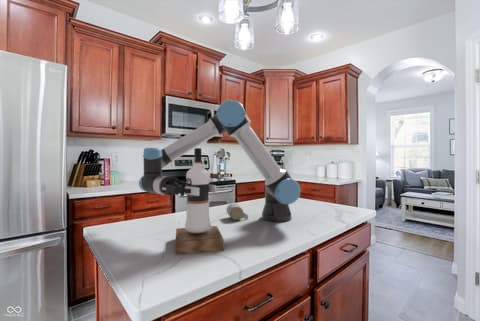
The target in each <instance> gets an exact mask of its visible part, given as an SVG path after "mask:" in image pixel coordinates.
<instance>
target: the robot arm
mask: <svg viewBox="0 0 480 321" xmlns="http://www.w3.org/2000/svg"><path fill="white" fill-rule="evenodd" d="M245 110H246V109H245V108H244V106H243V104H242V103H241V102H240V101H238V100H236V99H227V100H225V101H223V102H222V103H221V104H220V105H218V108H217V109H216V113H215V114H214V115H213V116H211V117H210V118H208V121H207V122H206V123H205V122H204V123H203V125H201V126H199V127H197V128H195V129H194V130H192V131H191V132H188V133H187V134H185V135H184V136H182V137H181V138H178V139H177V140H175V141H174V142H172V143H171V144H168V145H167V146H164V148H161V147H145V148H144V149H143V155H142V157H143V175H141V177H140V178H139V181H138V186H139V188H140V189H141V190H142V191H144V192H146V193H151V194H152V193H153V194H159V195H161V196H164V195H165V196H169V197H170V196H175V195H179V194H180V196H181V197H185V195H186V196H187V195H194V196H199V188H197V187H188V186H187V183H186V182H187V181H181V180H179V179H178V178H177V177H175V176H168V175H166V176H165V175H163V168H165V167H167V165H169V164H170V163H172V162H173V161H175V160H178V158H181V157H182V156H184V155H186V154H187V153H188V152H191V151H192V150H194V149H195V148H198V147H199V146H200V145H202V144H204V143H206V142H207V141H208V140H210V139H212V138H213V137H215V136H221V135H222V134H225V133H226V134H227V135H228V136H229V137H231V138H234V139H235V140H236V141H237V144H239V146H240V147H241V148H242V150H243V151H244V152H245V153H246V155H247V157H249V159H250V160H251V162H252V163H253V164H254V166H255V167H256V169H257V170H258V172H260V174H261V176H262V177H263V178H264V188H265V189H264V192H265V193H264V197H265V198H264V199H265V202H264V206H263V208H262V212H261V219H263V220H265V221H267V222H269V221H270V222H274V223H275V222H280V223H281V222H287V221H290V220H292V212H291V210H290V206H289V205H291V204H294V203H295V202H296V201H298V199H299V198H300V196H301V186H300V184H299V183H298V181H296V179H294V178H292V176H291V175H290V174H289V173H288V170H287V169H283V168H281V167H280V165H279V164H278V163H277V161H276V160H275V159H274V157H273V156H272V155H271V153H270V151H268V148H267V147H266V146H265V145H264V143H263V142H262V141H261V139H260V138H259V137H258V134H256V132H255V131H254V129H253V128H252V127H251V122H252V121H251V120H250V118H249V116H248V115H247V113H246V111H245ZM209 193H215V194H216V193H217V185H216V184H209Z"/></svg>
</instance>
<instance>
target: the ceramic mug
mask: <svg viewBox="0 0 480 321" xmlns="http://www.w3.org/2000/svg"><path fill="white" fill-rule="evenodd" d="M226 213H227V215H228V216H229V217H230V219H232V220H233V221H239V220H241V219H242V218H243V219H246V220H248V218H249V215H248V214H247V213H246V212H244V210H243V208H242V207H241V205H240V204H239V203H236V202H231V203H230V204H228V206H227V207H226Z"/></svg>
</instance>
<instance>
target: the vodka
mask: <svg viewBox="0 0 480 321" xmlns="http://www.w3.org/2000/svg"><path fill="white" fill-rule="evenodd" d="M193 151H194V152H193V153H194V155H193V156H194V157H193V158H194V159H193V160H194V166H193V167H191V168H190V169H188V170H187V172H186V174H185V178H186V181H185V182H186V183H187V186H188V187H197V188H199V196H194V195H187V194H186V203H185V205H186V218H185V224H184V228H185V229H186V231H188V232H190V233H204V232H207V231H208V230H210V228H211V226H212V225H211V223H212V222H211V220H210V192H209V185H210V172H209V171H208V169H206V168H204V167H203V166H202V148H200V147H195V148H194V149H193Z"/></svg>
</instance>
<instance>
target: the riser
mask: <svg viewBox="0 0 480 321" xmlns="http://www.w3.org/2000/svg"><path fill="white" fill-rule="evenodd" d="M224 239H225V238H224V237H223V235H222V233H221V231H220V229H219V227H218V226H217V225H211V228H210V230H208V231H207V232H204V233H190V232H188V231H186V229H185V227H183V228H182V227H181V228H180V227H179V228H176V229H175V239H174V240H175V243H174V244H175V247H174V248H175V252H174V253H175V254H174V255H175V256H178V255H180V254H181V255H188V254H189V255H190V254H199V253H200V254H201V253H209V252H210V253H211V252H220V251H224V247H225V246H224V243H225V242H224Z"/></svg>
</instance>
